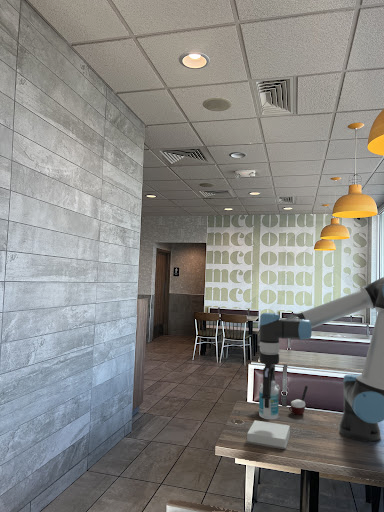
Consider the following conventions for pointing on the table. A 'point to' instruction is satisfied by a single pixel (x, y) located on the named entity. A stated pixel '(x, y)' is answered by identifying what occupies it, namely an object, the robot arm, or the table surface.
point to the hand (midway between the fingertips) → (268, 412)
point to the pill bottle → (274, 401)
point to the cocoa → (298, 404)
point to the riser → (269, 434)
